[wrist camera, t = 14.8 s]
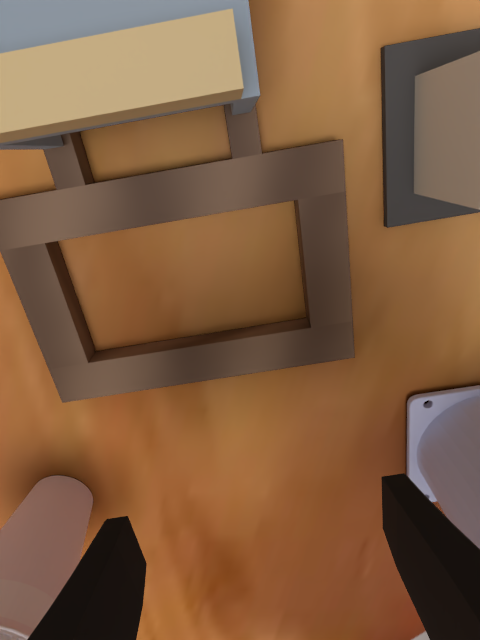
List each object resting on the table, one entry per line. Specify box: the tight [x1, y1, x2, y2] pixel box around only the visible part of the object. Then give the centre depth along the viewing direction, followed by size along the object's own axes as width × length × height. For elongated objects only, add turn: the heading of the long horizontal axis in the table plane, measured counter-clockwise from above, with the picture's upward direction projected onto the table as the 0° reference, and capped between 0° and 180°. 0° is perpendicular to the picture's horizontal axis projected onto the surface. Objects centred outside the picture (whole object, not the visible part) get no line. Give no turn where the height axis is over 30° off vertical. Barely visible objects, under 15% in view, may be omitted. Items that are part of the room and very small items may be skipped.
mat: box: [381, 28, 480, 228], centre depth 17 cm, size 7×7×1 cm
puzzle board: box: [0, 104, 355, 403], centre depth 17 cm, size 15×20×1 cm
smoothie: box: [0, 475, 93, 640], centre depth 18 cm, size 6×6×14 cm
